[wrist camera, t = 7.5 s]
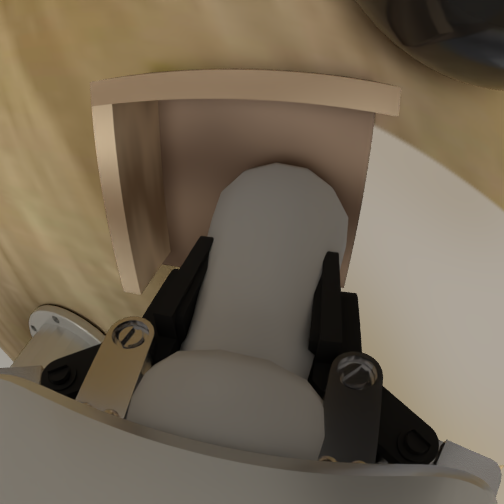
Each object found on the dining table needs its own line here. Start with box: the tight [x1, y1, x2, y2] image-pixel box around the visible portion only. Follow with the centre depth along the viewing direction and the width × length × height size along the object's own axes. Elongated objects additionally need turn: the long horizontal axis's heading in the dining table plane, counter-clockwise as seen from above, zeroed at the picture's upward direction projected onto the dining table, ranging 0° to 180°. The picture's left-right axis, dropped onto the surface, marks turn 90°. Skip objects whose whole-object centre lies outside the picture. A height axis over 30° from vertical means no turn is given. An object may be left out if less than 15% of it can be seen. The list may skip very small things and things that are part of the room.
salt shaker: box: [126, 162, 348, 461], centre depth 10 cm, size 6×6×13 cm
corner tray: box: [90, 69, 402, 295], centre depth 14 cm, size 11×11×5 cm
